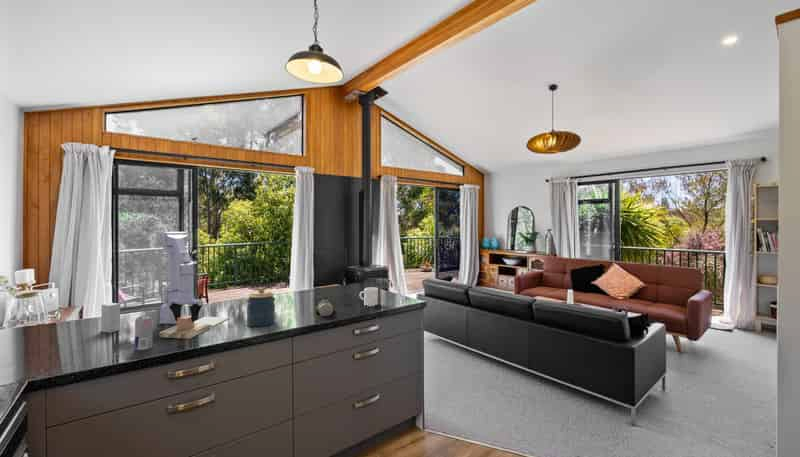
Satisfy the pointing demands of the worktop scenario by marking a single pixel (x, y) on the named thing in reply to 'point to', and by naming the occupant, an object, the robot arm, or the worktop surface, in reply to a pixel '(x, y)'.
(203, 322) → the sage mat
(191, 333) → the socket block
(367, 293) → the mug
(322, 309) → the ceramic sculpture
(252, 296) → the canister
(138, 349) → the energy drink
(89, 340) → the worktop surface
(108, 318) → the skincare box
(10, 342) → the worktop surface
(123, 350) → the worktop surface
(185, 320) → the peg
